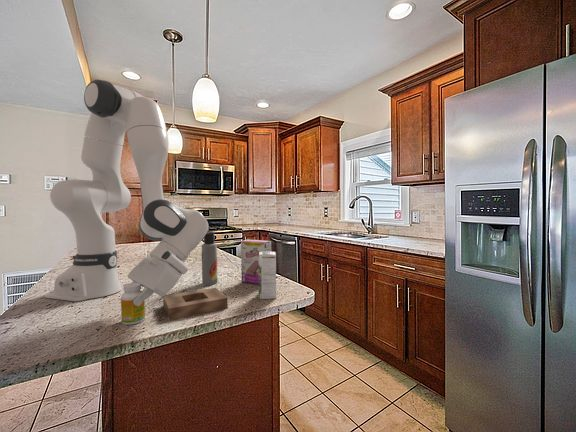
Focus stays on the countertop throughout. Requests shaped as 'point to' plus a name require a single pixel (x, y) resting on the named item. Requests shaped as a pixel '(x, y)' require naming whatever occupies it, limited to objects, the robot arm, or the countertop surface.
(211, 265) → the lotion bottle
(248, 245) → the candy bar box
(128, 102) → the robot arm
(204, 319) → the countertop surface
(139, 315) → the supplement bottle
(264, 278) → the syrup box
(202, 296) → the socket block
